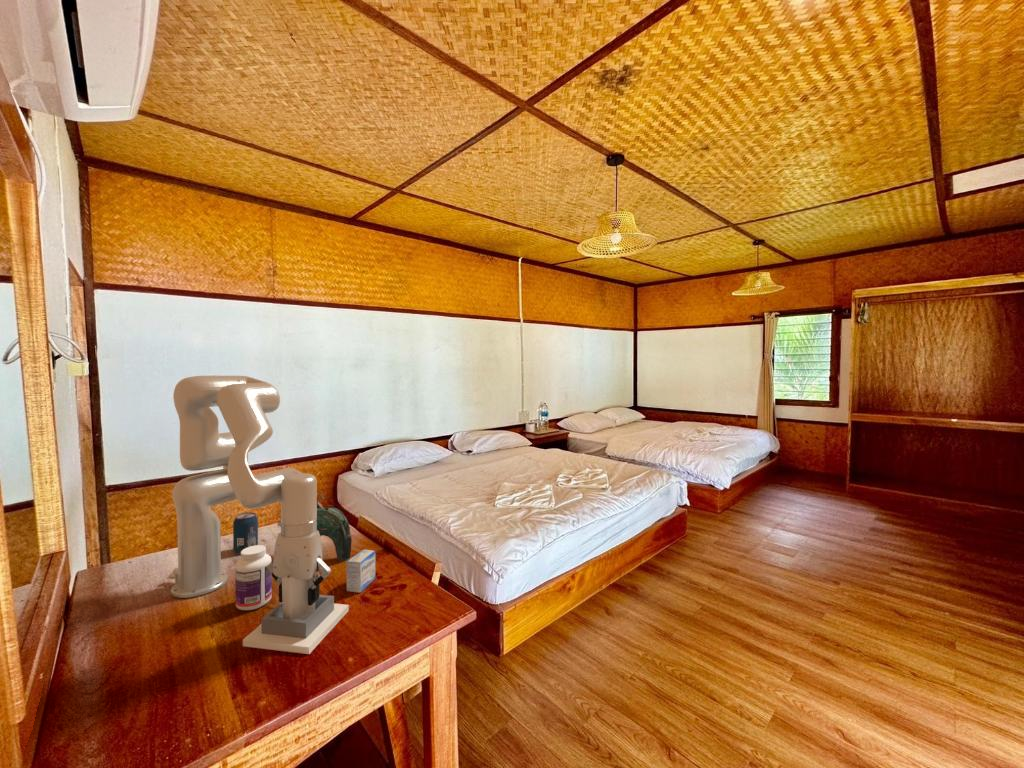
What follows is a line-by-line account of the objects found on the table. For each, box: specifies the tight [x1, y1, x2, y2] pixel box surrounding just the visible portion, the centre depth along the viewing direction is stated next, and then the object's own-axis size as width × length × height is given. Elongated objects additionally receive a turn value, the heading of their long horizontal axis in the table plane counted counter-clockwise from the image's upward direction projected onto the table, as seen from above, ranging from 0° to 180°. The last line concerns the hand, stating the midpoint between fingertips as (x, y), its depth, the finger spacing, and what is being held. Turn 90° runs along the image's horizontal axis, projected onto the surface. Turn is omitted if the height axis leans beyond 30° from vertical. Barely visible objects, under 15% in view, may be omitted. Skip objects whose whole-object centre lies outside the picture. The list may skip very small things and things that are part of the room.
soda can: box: [232, 512, 259, 555], centre depth 136 cm, size 7×7×12 cm
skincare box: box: [282, 576, 315, 620], centre depth 96 cm, size 6×4×12 cm
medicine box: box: [346, 549, 376, 594], centre depth 115 cm, size 8×4×9 cm, turn 168°
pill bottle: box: [234, 544, 273, 611], centre depth 105 cm, size 8×8×14 cm
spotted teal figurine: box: [317, 494, 353, 562], centre depth 134 cm, size 20×6×20 cm, turn 67°
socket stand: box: [242, 594, 350, 655], centre depth 96 cm, size 16×16×5 cm
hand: (299, 600), depth 96 cm, fingers open, 6 cm apart
